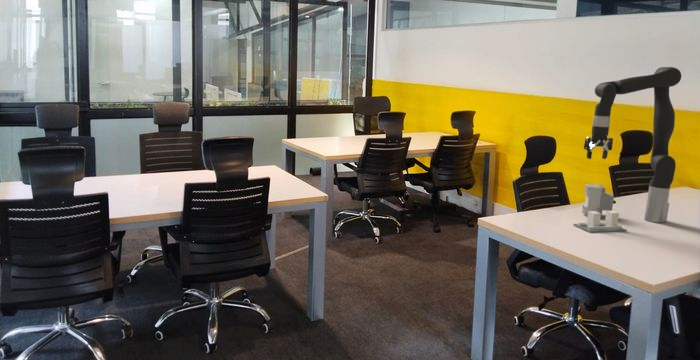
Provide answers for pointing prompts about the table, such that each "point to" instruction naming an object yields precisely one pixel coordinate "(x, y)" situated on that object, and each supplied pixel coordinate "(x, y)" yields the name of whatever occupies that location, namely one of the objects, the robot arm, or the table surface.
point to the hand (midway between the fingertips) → (596, 158)
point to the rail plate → (604, 224)
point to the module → (593, 218)
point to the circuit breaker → (597, 199)
